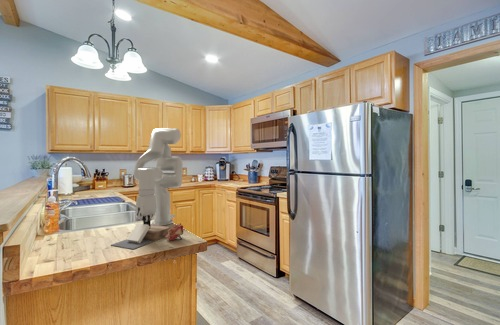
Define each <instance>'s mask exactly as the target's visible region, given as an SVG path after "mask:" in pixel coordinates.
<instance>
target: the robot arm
mask: <svg viewBox="0 0 500 325" xmlns="http://www.w3.org/2000/svg"><path fill="white" fill-rule="evenodd" d="M181 135H182V134H181V131H180V129H179V128H177V127H174V128H173V127H159V128H154V129H152V132H151V134H150V139H149V142H148V147H147V151H146V152H144V153H143V154H142V155H141V156H140V157H139V158H138V159H137V160H136V162H135V166H134V171H133V178H134V180H135V181H137V182H138V196H137V197H136V202H135V216H136V217H137V219H138V220H141V221H142V224H146V225H149V226H150V225H159V226H168V225H171V224H173V223H174V220H173V218H175V217H176V215H175V214H171V194H170V191H169V190H168V189H178V188H180V187H182V184H183V183H182V182H183V181H182V180H183V159H182V158H181V157H180V156H175V155H173V156H172V148H171V146H170V145H176V144H177V143H178V142H179V141H180V140H181ZM155 160H156V163H155V164H156V167H145V165H146V164H148V163H150V162H152V161H155ZM153 217H154V220H153V221H152V218H153ZM151 221H152V222H151ZM149 229H150V228H149Z"/></svg>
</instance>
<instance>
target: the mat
mask: <svg viewBox="0 0 500 325" xmlns="http://www.w3.org/2000/svg"><path fill="white" fill-rule="evenodd" d="M152 243H153V241H150V240H143V239H142V241H141V243H134V242H129V241H128V240H127V238H126V239H124V240H121V241H118V242H115V243H112V244H110V246H111V247H115V248H116V247H117V248H121V249H126V250H133V251H134V250H136V249H138V248H141V247H144V246H146V245H149V244H152Z"/></svg>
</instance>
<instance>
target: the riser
mask: <svg viewBox="0 0 500 325" xmlns="http://www.w3.org/2000/svg"><path fill="white" fill-rule="evenodd" d="M170 228H172V226H168V225H162V226H159V225H152V224H150V229H149V230H148V231H147V233H146V234H145V236H144V238H143V240H150V241H153V242H156V241H158V240H159V241H160V240H161V239H163V238H166V237H165V236H166V235H168V234H169V233H168V232H167V231H168V230H169V229H170ZM153 242H152V243H153Z"/></svg>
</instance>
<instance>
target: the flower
mask: <svg viewBox="0 0 500 325" xmlns="http://www.w3.org/2000/svg"><path fill="white" fill-rule="evenodd" d="M184 229H185V228H184V226H183V224H182V223H181V222H180V223H177V224H176V223H175V224H174V226H171V228H170V229H169V230H168V231H167V232H168V233H169V234H168V235H166V236H165V237H164V238H166V239H167V238H168V241H174V240H176V239H178V238H179V239H180V240H182V239H183V237H182V235H183V234H184Z"/></svg>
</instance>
